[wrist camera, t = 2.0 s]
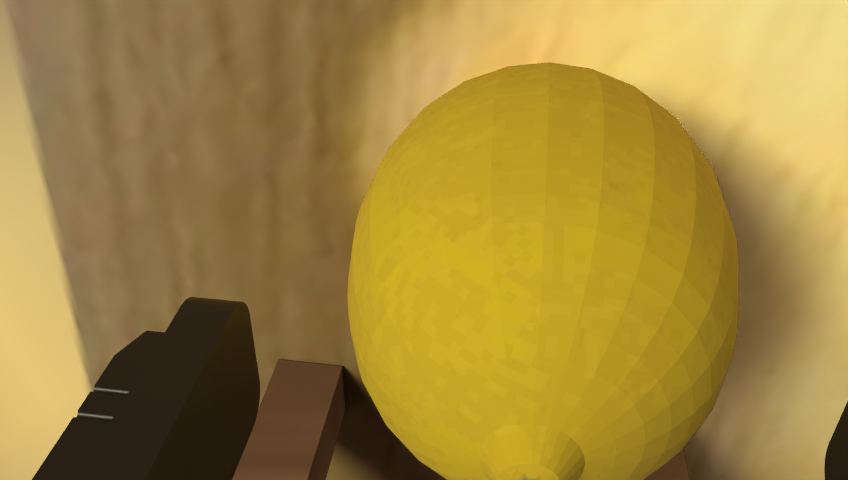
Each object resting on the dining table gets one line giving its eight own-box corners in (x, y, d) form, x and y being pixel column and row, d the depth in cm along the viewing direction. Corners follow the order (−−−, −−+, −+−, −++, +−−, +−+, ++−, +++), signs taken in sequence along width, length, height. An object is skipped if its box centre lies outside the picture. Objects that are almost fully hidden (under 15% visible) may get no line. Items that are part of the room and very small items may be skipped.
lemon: (729, 4, 13) (891, 329, 7) (660, 267, 16) (725, 655, 10) (400, -21, 14) (257, 259, 7) (396, 239, 17) (296, 591, 10)
